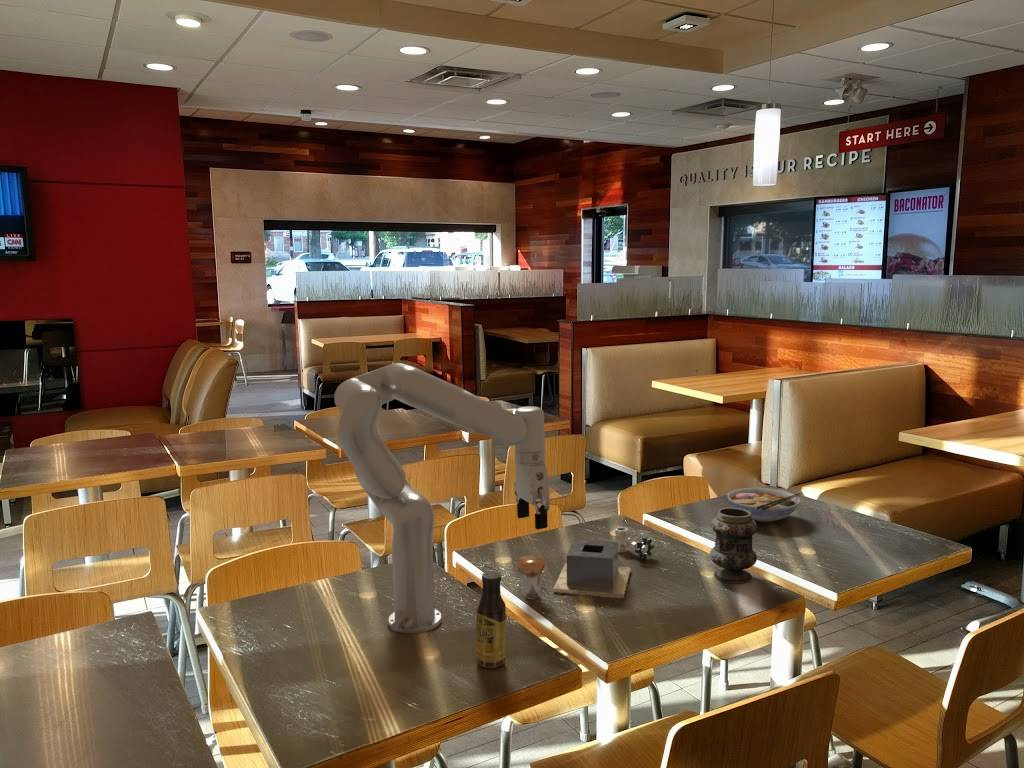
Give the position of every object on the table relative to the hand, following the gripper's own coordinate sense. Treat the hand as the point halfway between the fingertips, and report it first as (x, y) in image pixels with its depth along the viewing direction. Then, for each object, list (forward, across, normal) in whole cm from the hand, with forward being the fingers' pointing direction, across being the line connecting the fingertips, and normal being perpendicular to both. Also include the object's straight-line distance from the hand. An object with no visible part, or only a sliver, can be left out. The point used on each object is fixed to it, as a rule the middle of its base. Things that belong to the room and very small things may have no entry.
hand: (532, 522), depth 197 cm
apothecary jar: (+20, -14, -52) cm, 58 cm away
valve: (+20, +12, -38) cm, 45 cm away
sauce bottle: (+19, -26, +24) cm, 40 cm away
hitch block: (+20, 0, -18) cm, 26 cm away
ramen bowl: (+21, +18, -94) cm, 97 cm away
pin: (+19, 0, +1) cm, 19 cm away
